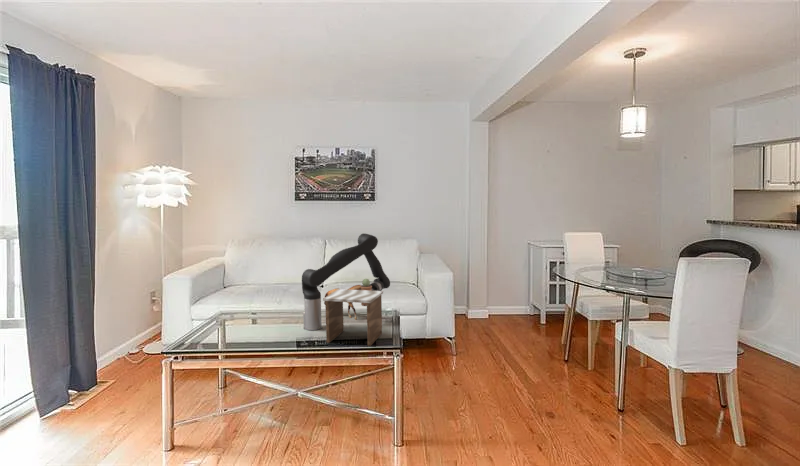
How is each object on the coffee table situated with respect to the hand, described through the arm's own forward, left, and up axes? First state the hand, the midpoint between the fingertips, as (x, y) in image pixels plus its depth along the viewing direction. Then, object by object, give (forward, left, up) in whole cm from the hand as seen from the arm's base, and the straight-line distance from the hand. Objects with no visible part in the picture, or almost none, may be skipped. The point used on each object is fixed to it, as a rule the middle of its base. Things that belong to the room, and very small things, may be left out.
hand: (365, 295), depth 272 cm
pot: (0, +2, -6) cm, 6 cm away
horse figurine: (-19, +16, -17) cm, 31 cm away
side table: (+2, -24, -17) cm, 29 cm away
